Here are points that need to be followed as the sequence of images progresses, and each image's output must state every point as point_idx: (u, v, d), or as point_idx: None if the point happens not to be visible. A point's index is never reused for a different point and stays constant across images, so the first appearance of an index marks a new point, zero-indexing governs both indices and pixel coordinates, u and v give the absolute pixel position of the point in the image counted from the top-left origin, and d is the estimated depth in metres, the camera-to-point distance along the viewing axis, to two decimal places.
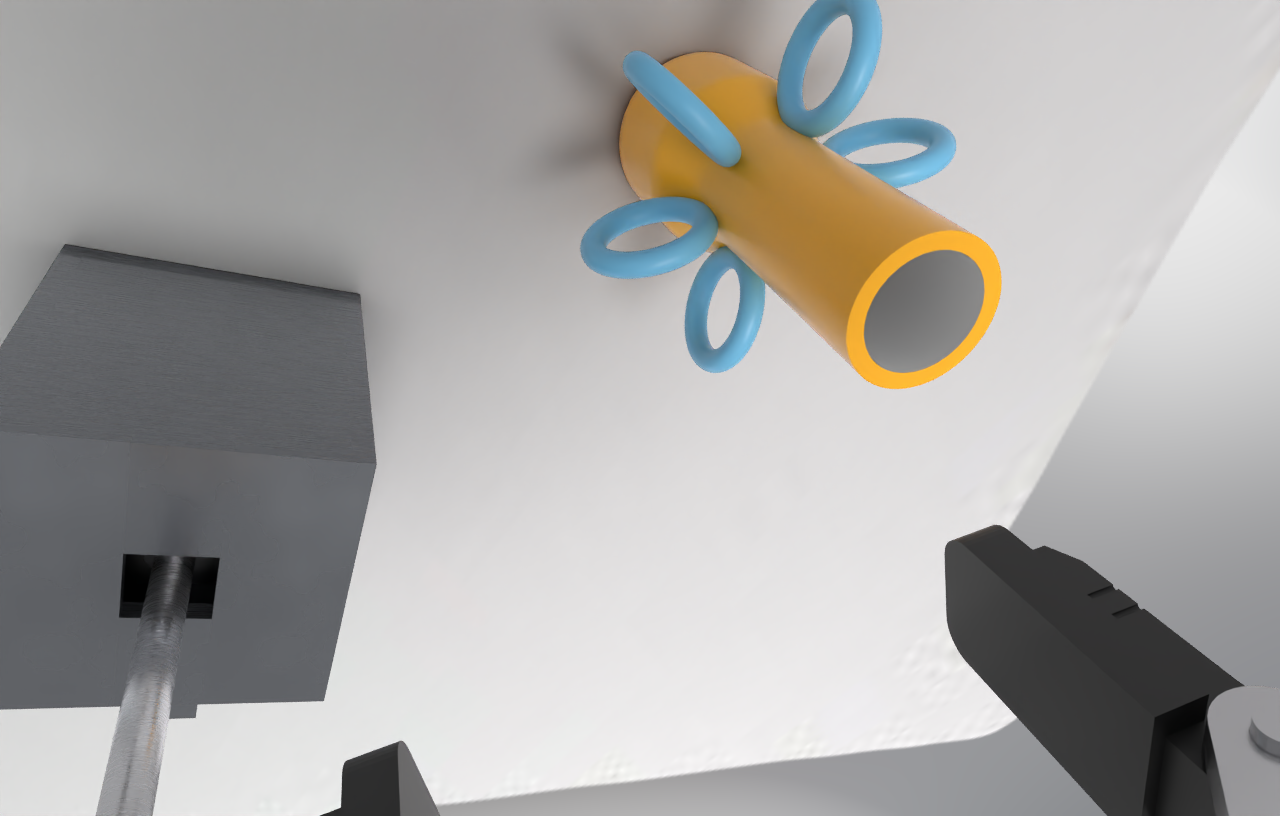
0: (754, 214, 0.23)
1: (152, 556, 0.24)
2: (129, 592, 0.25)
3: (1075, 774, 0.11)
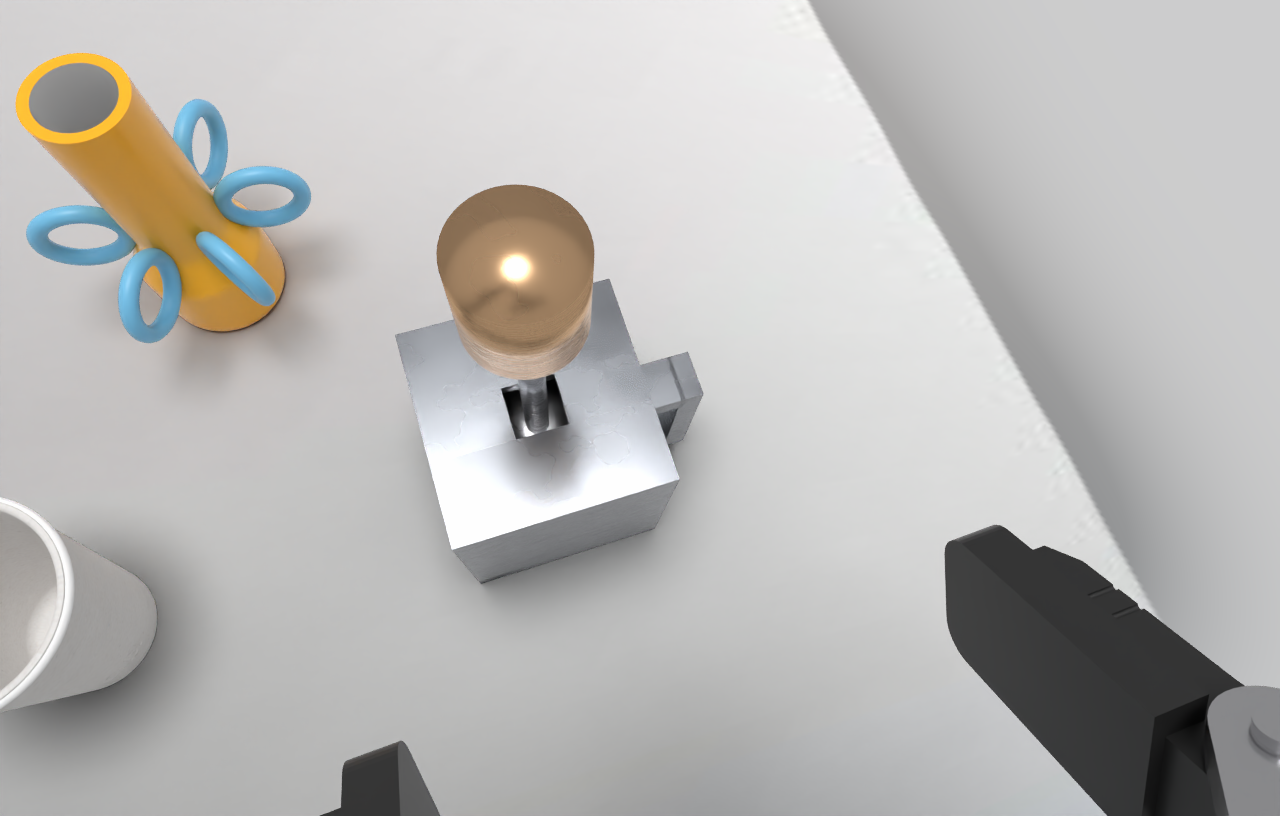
0: (151, 220, 0.36)
1: None
2: None
3: (1075, 774, 0.11)
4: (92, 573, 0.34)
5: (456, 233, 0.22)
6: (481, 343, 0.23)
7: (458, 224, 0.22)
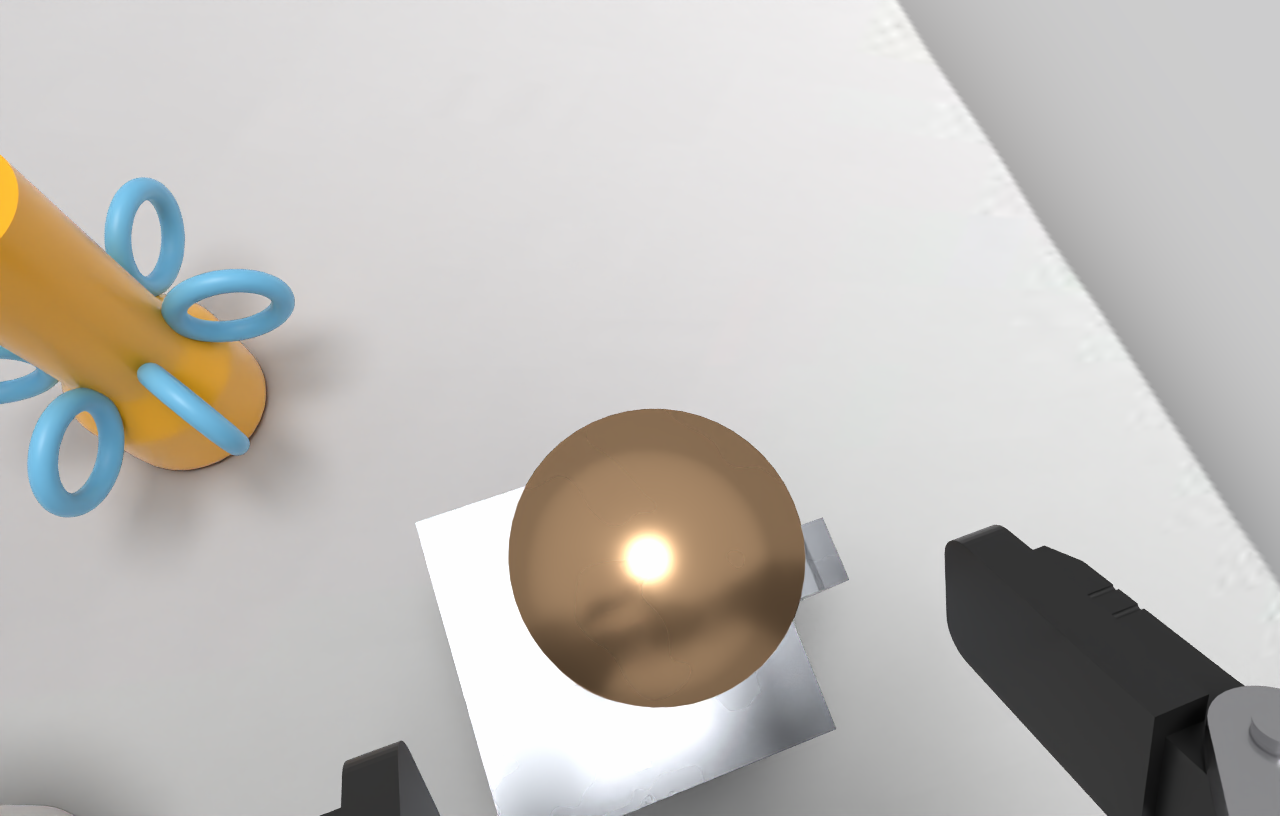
0: (70, 358, 0.26)
1: None
2: None
3: (1074, 774, 0.11)
4: None
5: (543, 515, 0.11)
6: None
7: (546, 496, 0.12)
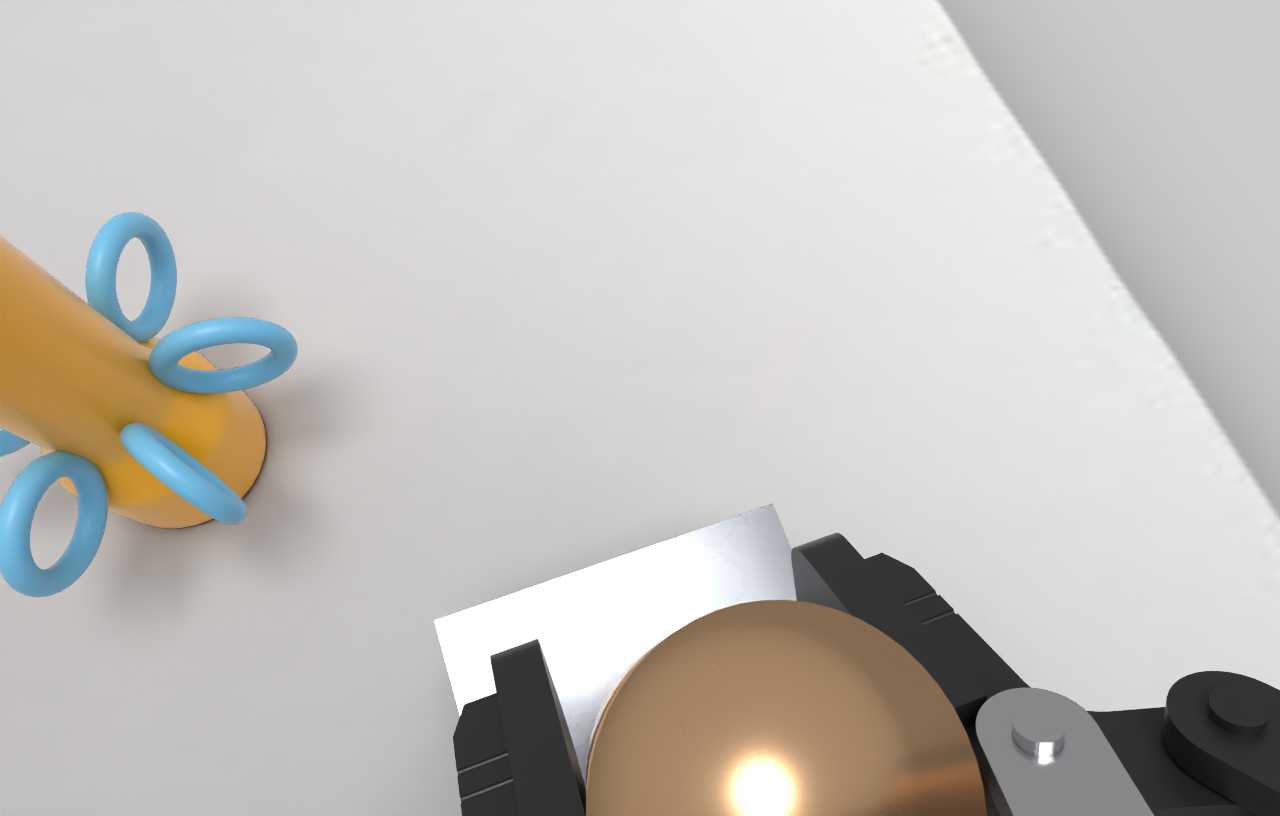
0: (43, 424, 0.23)
1: None
2: None
3: None
4: None
5: (632, 757, 0.08)
6: None
7: (635, 729, 0.09)
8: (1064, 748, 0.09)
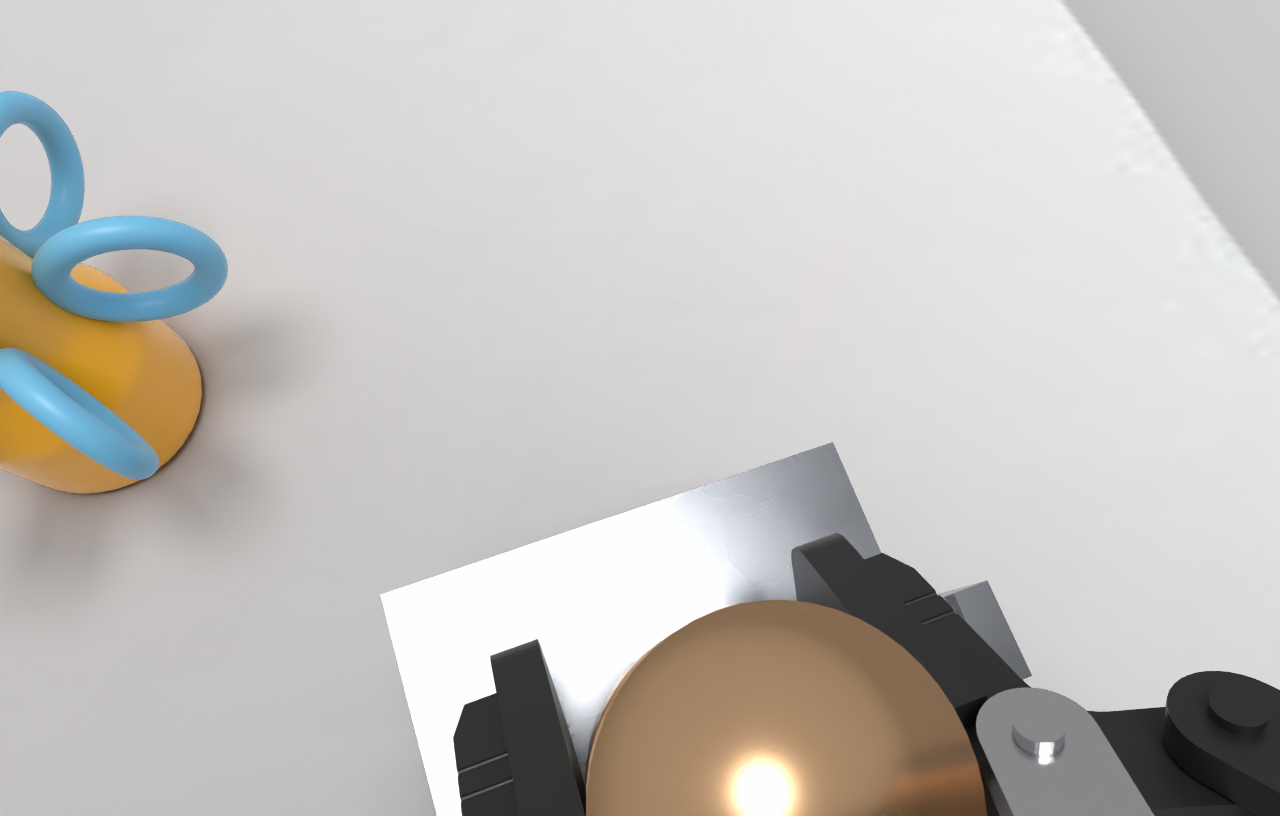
0: None
1: None
2: None
3: None
4: None
5: (632, 757, 0.08)
6: None
7: (635, 729, 0.09)
8: (1064, 748, 0.09)
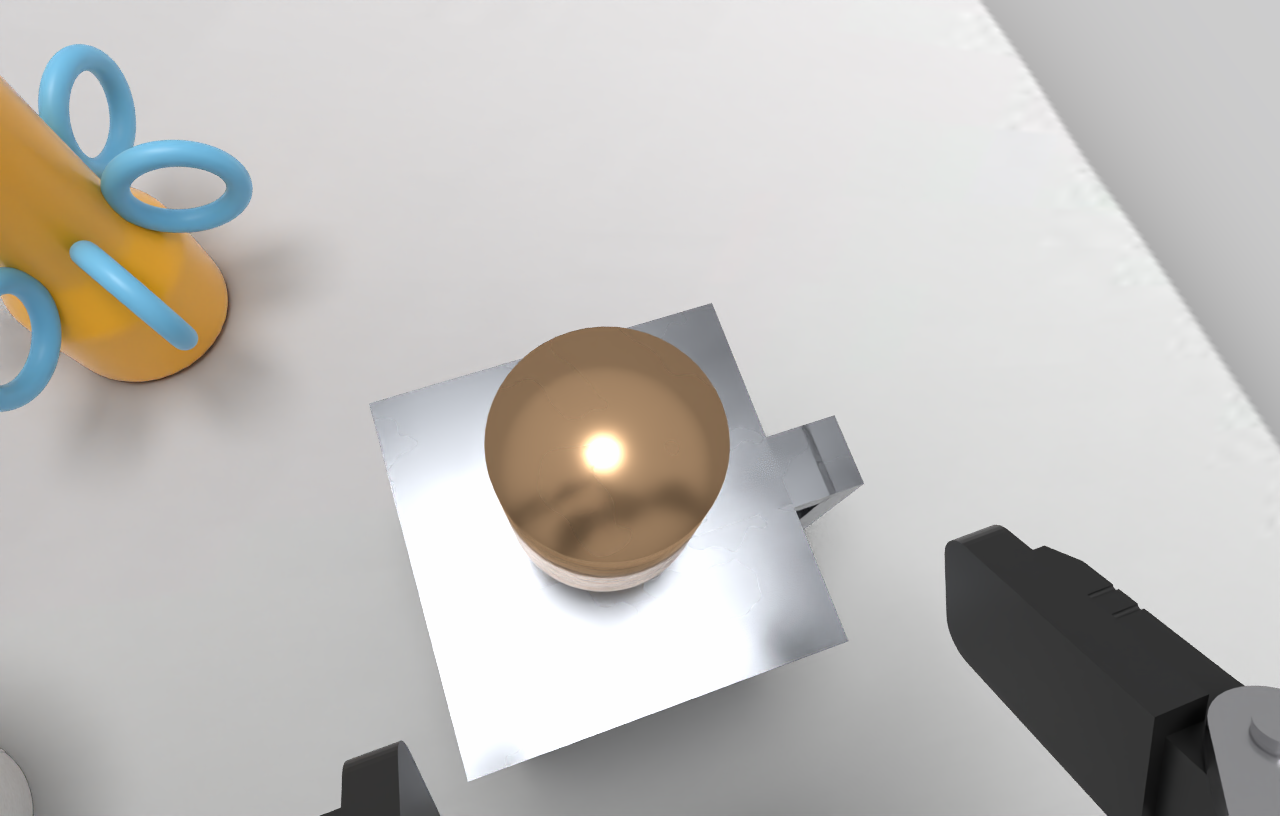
0: None
1: None
2: None
3: (1074, 774, 0.11)
4: None
5: (513, 410, 0.14)
6: (551, 564, 0.15)
7: (516, 395, 0.14)
8: None
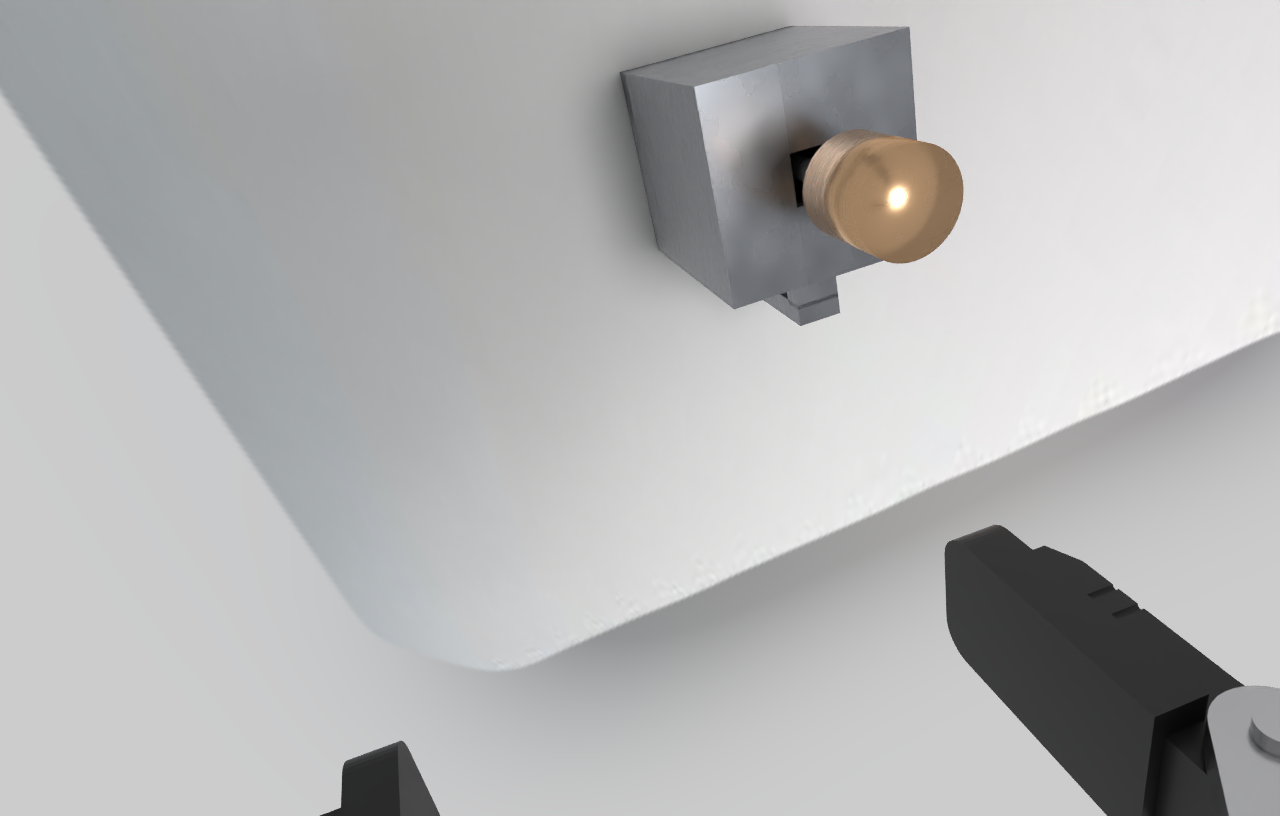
0: None
1: None
2: None
3: (1075, 774, 0.11)
4: None
5: (933, 157, 0.28)
6: (841, 164, 0.29)
7: (939, 159, 0.28)
8: None
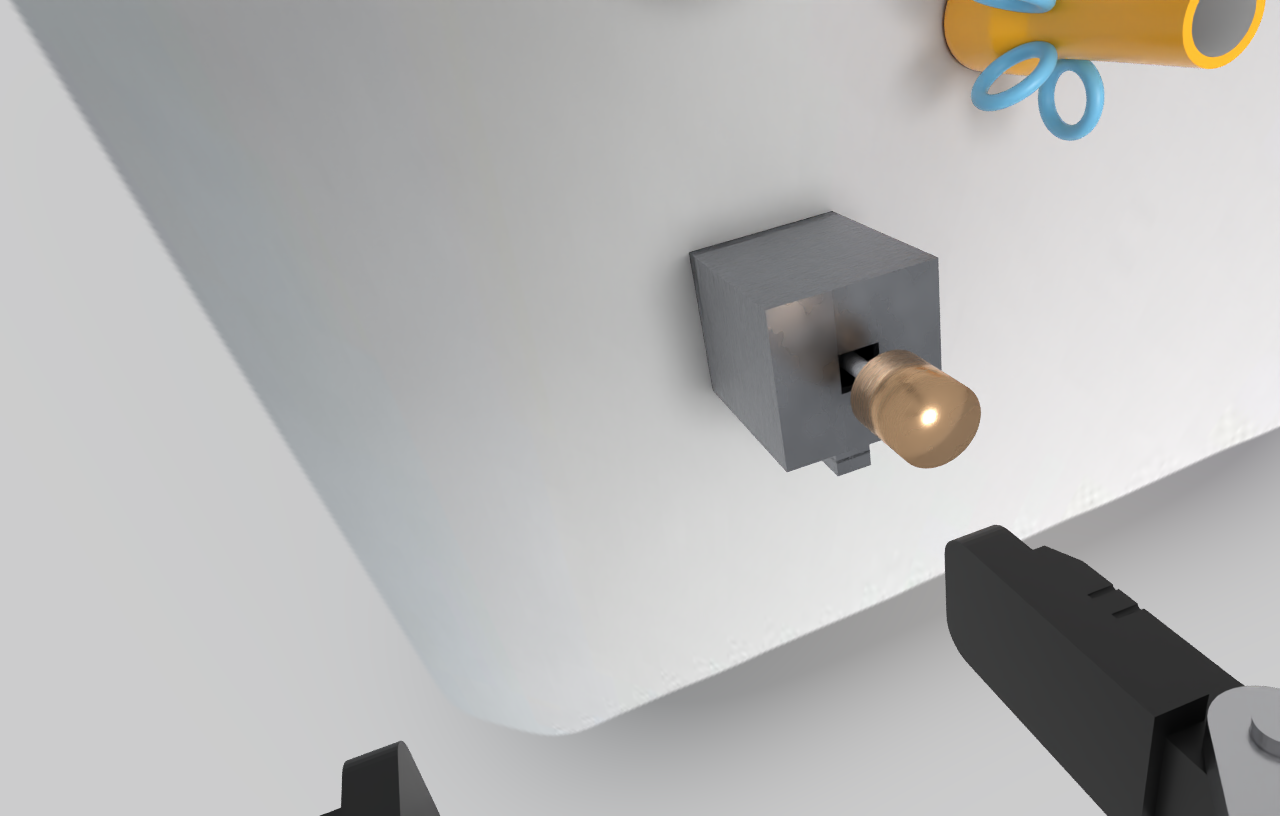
0: (1083, 25, 0.39)
1: None
2: None
3: (1074, 774, 0.11)
4: None
5: (958, 393, 0.36)
6: (884, 388, 0.37)
7: (963, 394, 0.36)
8: None
